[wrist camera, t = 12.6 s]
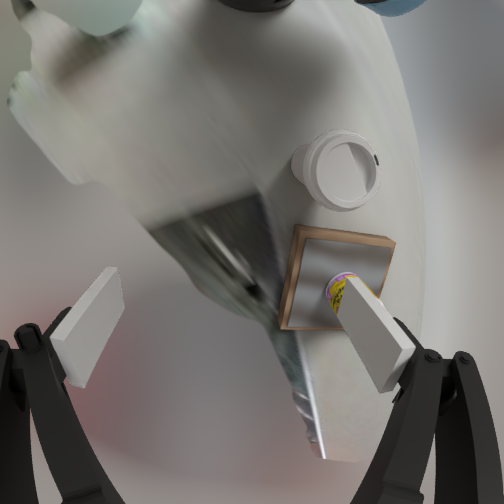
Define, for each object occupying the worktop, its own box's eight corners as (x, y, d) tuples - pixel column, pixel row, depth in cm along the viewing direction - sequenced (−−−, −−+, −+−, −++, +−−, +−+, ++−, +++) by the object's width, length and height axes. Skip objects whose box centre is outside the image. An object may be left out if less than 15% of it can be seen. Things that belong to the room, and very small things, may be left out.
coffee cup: (339, 192, 43) (386, 213, 29) (282, 196, 42) (309, 218, 28) (337, 135, 39) (386, 130, 25) (278, 135, 39) (305, 127, 25)
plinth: (295, 224, 44) (301, 231, 40) (386, 236, 46) (397, 243, 42) (277, 318, 50) (281, 330, 46) (361, 319, 52) (368, 330, 49)
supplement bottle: (339, 263, 43) (376, 304, 31) (366, 280, 44) (404, 320, 32) (316, 296, 44) (344, 344, 32) (344, 310, 46) (375, 356, 34)
